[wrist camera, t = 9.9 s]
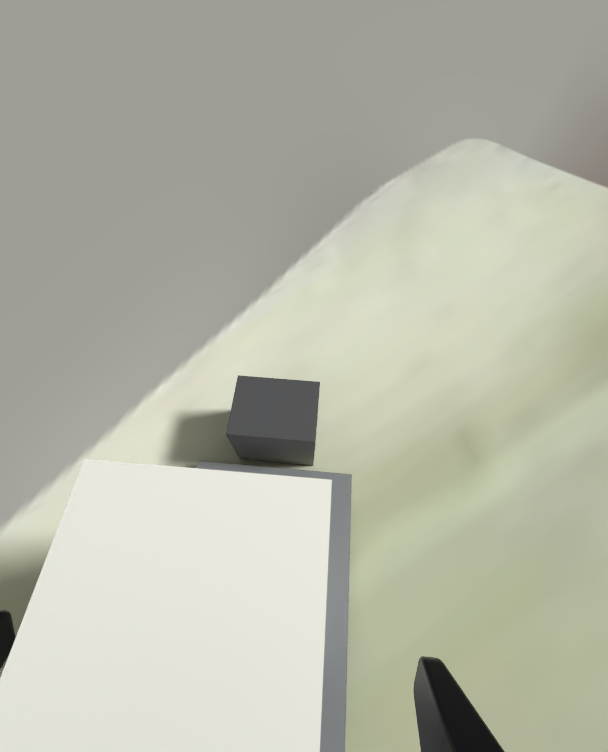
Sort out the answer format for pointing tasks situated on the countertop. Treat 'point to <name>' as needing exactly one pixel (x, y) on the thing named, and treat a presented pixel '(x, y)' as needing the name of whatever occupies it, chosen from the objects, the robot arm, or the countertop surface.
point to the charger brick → (175, 616)
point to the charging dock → (296, 446)
